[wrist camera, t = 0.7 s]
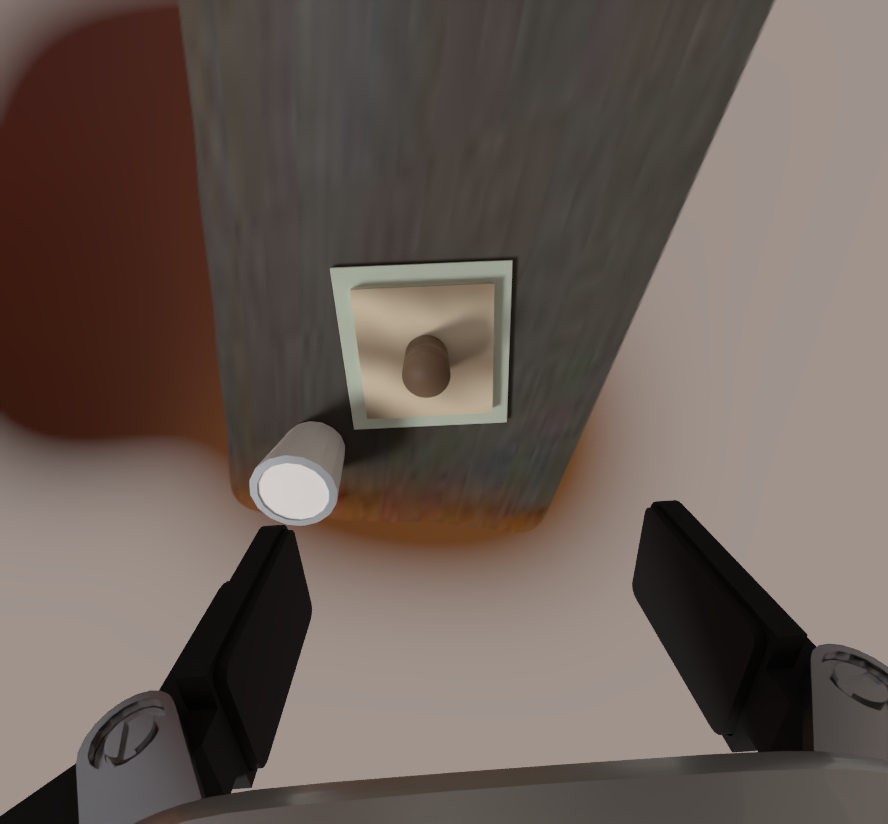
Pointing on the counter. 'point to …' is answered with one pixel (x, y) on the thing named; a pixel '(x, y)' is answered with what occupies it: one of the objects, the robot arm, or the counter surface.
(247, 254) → the counter surface
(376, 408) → the lid
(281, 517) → the white cup
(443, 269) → the mat
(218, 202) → the counter surface
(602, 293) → the counter surface
